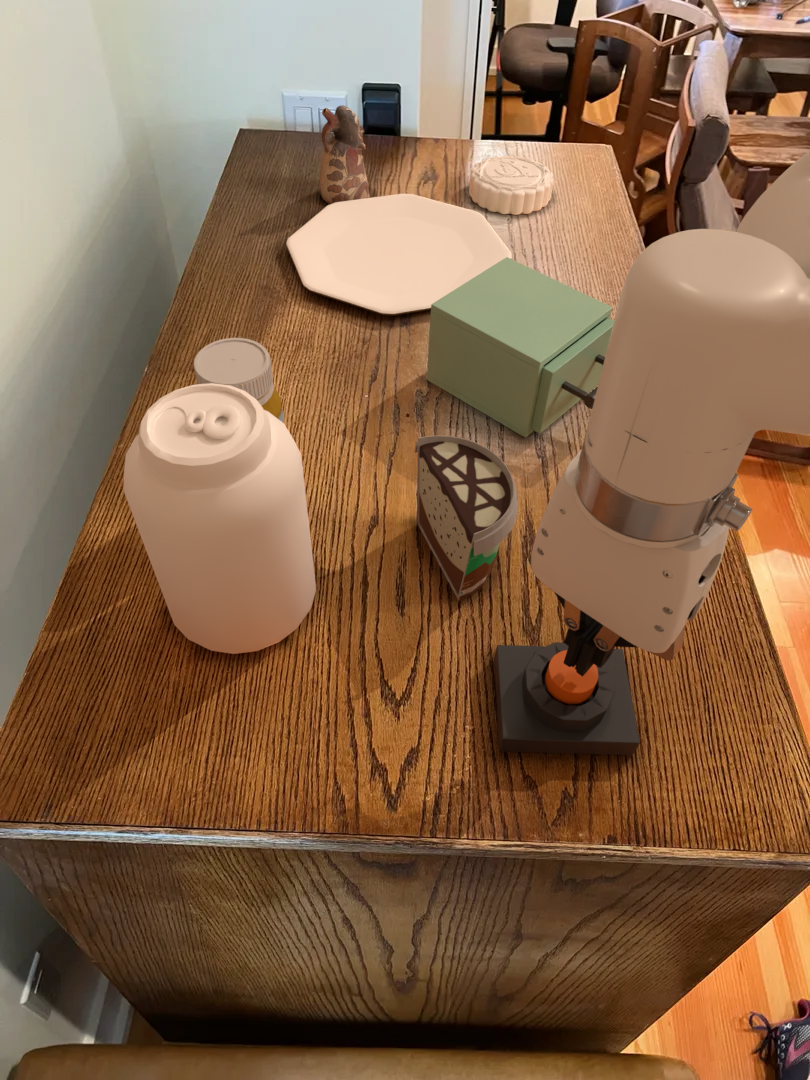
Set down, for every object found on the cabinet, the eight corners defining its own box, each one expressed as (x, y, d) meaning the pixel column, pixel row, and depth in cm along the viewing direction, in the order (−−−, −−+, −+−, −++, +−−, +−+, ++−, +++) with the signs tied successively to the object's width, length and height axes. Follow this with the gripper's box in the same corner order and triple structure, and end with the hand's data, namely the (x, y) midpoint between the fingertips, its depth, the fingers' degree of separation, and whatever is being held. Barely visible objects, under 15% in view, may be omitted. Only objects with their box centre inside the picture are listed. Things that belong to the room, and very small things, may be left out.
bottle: (211, 471, 75) (180, 343, 64) (281, 454, 77) (263, 327, 65) (227, 522, 71) (197, 395, 59) (300, 503, 73) (285, 377, 61)
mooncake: (542, 175, 116) (545, 151, 114) (557, 215, 109) (562, 190, 106) (463, 176, 116) (465, 152, 113) (474, 216, 108) (476, 191, 105)
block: (616, 662, 62) (628, 636, 59) (632, 756, 57) (647, 732, 54) (493, 658, 62) (499, 632, 59) (499, 751, 57) (505, 727, 54)
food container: (530, 593, 67) (549, 517, 59) (465, 614, 65) (477, 539, 57) (470, 495, 74) (481, 417, 66) (411, 512, 72) (415, 433, 65)
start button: (589, 662, 58) (594, 650, 57) (596, 705, 56) (601, 693, 55) (542, 660, 58) (546, 648, 57) (547, 703, 56) (551, 692, 55)
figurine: (373, 204, 110) (373, 115, 100) (324, 209, 108) (319, 119, 99) (364, 181, 114) (362, 94, 105) (316, 185, 113) (310, 97, 103)
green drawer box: (593, 382, 85) (613, 306, 78) (525, 438, 79) (540, 362, 72) (496, 331, 91) (506, 256, 84) (426, 379, 85) (430, 304, 77)
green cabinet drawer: (633, 399, 82) (653, 338, 76) (573, 453, 77) (589, 392, 71) (509, 334, 89) (519, 274, 83) (446, 380, 84) (451, 318, 78)
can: (321, 539, 70) (304, 360, 54) (311, 659, 62) (288, 489, 47) (183, 538, 70) (127, 357, 54) (155, 657, 62) (80, 486, 46)
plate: (534, 237, 105) (536, 226, 104) (448, 344, 89) (449, 333, 88) (358, 189, 112) (358, 178, 111) (250, 280, 97) (249, 269, 95)
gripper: (818, 508, 39) (706, 685, 53) (572, 380, 45) (530, 569, 59) (749, 598, 35) (649, 762, 49) (493, 445, 42) (469, 629, 56)
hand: (584, 656), depth 54 cm, fingers closed
